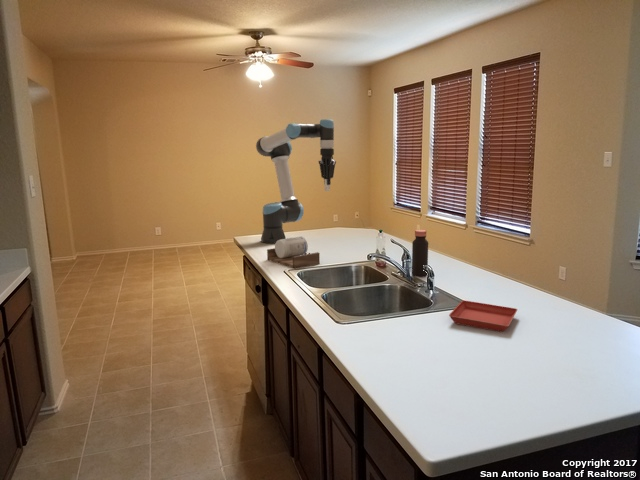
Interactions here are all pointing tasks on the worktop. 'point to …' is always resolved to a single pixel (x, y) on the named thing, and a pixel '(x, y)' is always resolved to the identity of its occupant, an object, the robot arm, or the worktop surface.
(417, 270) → the bottle
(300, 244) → the supplement tub
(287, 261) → the walnut tray
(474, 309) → the plant saucer
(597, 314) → the worktop surface
